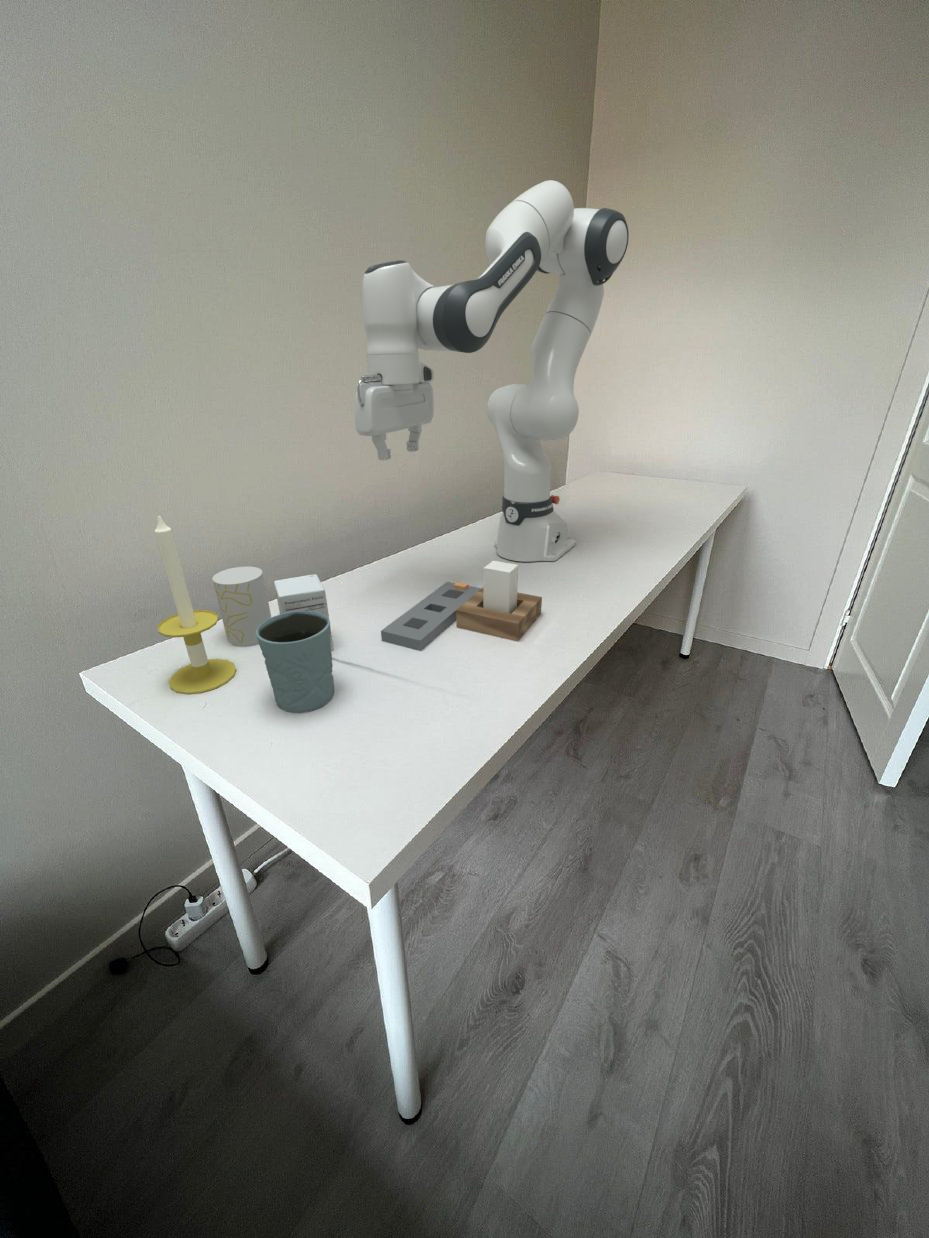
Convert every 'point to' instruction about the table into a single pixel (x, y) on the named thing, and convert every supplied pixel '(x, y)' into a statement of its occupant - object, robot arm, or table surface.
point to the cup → (242, 603)
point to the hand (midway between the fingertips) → (399, 455)
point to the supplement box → (302, 596)
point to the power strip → (428, 616)
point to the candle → (189, 627)
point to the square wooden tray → (499, 617)
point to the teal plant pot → (298, 659)
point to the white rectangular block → (500, 586)
